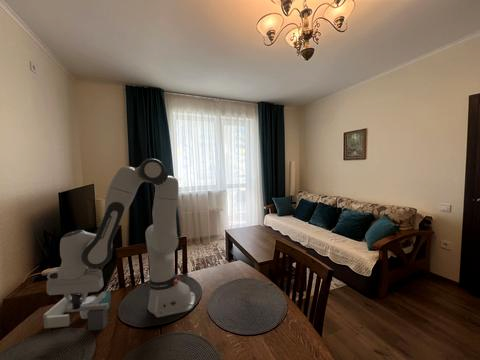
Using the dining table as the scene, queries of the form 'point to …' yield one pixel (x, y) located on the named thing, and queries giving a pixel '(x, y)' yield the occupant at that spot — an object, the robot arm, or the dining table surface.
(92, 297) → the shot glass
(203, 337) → the dining table surface
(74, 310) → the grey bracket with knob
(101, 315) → the rod housing
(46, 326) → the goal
